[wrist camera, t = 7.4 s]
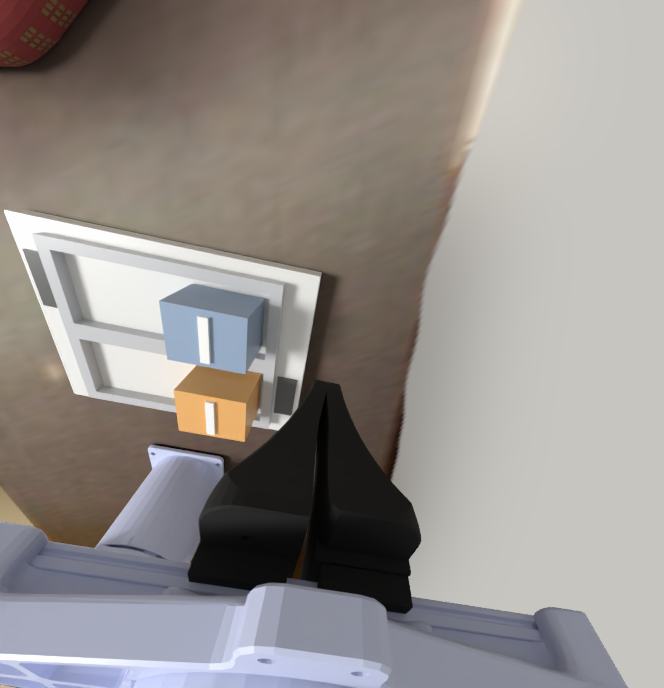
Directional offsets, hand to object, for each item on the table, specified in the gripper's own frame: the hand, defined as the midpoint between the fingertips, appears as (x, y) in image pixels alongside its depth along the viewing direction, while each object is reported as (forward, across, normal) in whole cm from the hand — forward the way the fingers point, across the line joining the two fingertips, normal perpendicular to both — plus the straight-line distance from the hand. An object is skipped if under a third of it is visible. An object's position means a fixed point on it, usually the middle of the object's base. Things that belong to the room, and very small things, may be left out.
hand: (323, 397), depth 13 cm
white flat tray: (+8, +12, +3) cm, 14 cm away
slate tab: (+7, +8, 0) cm, 10 cm away
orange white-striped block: (+7, +7, +7) cm, 12 cm away
